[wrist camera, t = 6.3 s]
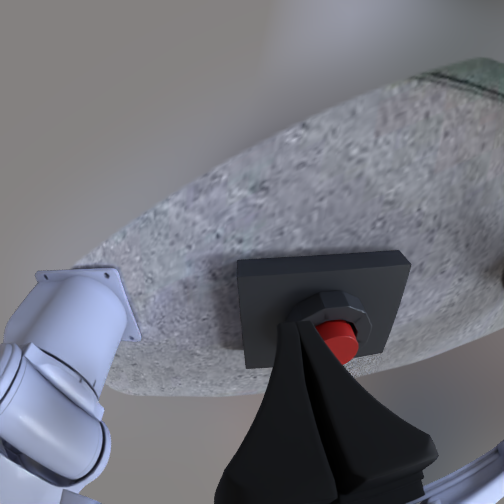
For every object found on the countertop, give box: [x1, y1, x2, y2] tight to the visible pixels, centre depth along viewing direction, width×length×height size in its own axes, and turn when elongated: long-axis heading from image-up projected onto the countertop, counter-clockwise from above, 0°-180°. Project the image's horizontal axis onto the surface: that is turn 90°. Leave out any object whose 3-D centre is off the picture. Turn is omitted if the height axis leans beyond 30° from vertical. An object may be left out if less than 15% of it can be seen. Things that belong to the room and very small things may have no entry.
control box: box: [237, 250, 411, 369], centre depth 21 cm, size 13×10×4 cm
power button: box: [315, 320, 358, 365], centre depth 19 cm, size 4×4×2 cm
